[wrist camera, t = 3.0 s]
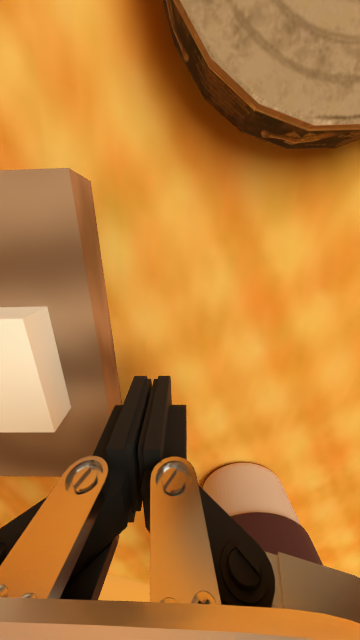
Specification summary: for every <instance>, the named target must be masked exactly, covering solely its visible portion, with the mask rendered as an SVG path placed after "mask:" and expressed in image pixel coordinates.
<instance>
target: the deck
mask: <svg viewBox="0 0 360 640" xmlns="http://www.w3.org/2000/svg"><path fill="white" fill-rule="evenodd" d="M0 307H47V308H48V312H49V317H50V321H51V325H52V329H53V333H54V338H55V342H56V346H57V350H58V355H59V359H60V363H61V367H62V371H63V376H64V380H65V384H66V388H67V392H68V397H69V401H70V405H71V409H70V410H69V412H68V413H67V415H66V416H65V418H64V419H63V421H62V422H61V424H60V425H59V427H58V428H57V430H56V431H55V432H0V476H62V475H63V474H64V472H65V471H66V470H67V469H68V468H69V466H71V465H72V464H73V463H75V462H76V461H78V460H80V459H82V458H84V457H88V456H92V455H93V453H94V451H95V449H96V446H97V444H98V442H99V440H100V437H101V435H102V433H103V431H104V428H105V426H106V424H107V422H108V419H109V417H110V415H111V413H112V410H113V408H114V406H115V405H122V402H121V395H120V388H119V381H118V374H117V367H116V360H115V352H114V345H113V338H112V331H111V324H110V317H109V310H108V303H107V295H106V288H105V281H104V274H103V267H102V260H101V253H100V246H99V239H98V231H97V224H96V217H95V210H94V203H93V196H92V189H91V182H90V181H89V180H88V179H86V178H84V177H83V176H81V175H79V174H78V173H76V172H74V171H73V170H71V169H69V168H57V169H30V170H2V171H0Z"/></svg>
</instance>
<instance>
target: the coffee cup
mask: <svg viewBox="0 0 360 640" xmlns="http://www.w3.org/2000/svg"><path fill="white" fill-rule="evenodd" d="M203 490H204V491H205V492H206V493H207V494H208V495H209V496H210V497H211V498H212V499H213V500H214V501H215V502H216V503H217V504H218V505H219V506H220V507H221V508H222V509H223V510H224V511H225V512H226V513H227V514H228V515H229V516H230V517H232V518H233V519H234V520H235V521H236V522H237V523H238V524H239V525H240V526H241V527H242V528H243V529H244V530H245V531H246V532H247V533H248V534H249V535H250V536H251V537H252V538H253V539H254V540H255V541H256V542H257V543H258V544H259V545H260V547H261V548H262V549H263V550H264V551H265V552H268V553H271V554H275V555H278V552H281V553H284V554H287V555H291V556H294V557H297V558H300V559H303V560H307V561H310V562H313V563H316V564H319V565H323V564H322V562H321V560H320V558H319V556H318V554H317V552H316V550H315V547H314V545H313V543H312V541H311V539H310V537H309V535H308V533H307V532H306V531H305V529H304V528H303V527H302V526H301V525H300V523H299V520H298V518H297V516H296V514H295V512H294V510H293V507H292V505H291V503H290V501H289V499H288V497H287V494H286V492H285V490H284V488H283V486H282V484H281V482H280V480H279V479H278V477H277V476H276V475H275V474H274V473H273V472H272V471H270V470H269V469H267V468H265V467H263V466H260V465H257V464H253V463H234V464H229V465H226V466H223V467H221V468H219V469H217V470H216V471H214V472H213V473H212V474H211V475H210V476H209V477H208V478H207V480H206V481H205V483H204V485H203Z"/></svg>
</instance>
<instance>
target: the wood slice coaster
mask: <svg viewBox="0 0 360 640" xmlns="http://www.w3.org/2000/svg"><path fill="white" fill-rule="evenodd" d="M163 3H164V7H165V10H166V14H167V18H168V22H169V26H170V30H171V33H172V37H173V41H174V45H175V47H176V49H177V50H178V52H179V54H180V56H181V57H182V59H183V61H184V63H185V64H186V66H187V68H188V70H189V72H190V73H191V75H192V77H193V79H194V80H195V82H196V84H197V86H198V87H199V89H200V91H201V93H202V95H203V96H204V98H205V99H206V100H207V101H208V102H209V103H210V104H211V105H212V106H214V107H215V108H216V109H217V110H218V111H219V112H220V113H221V114H222V115H224V116H225V117H226V118H227V119H228V120H229V121H230V122H231V123H232V124H233V125H235V126H236V127H237V128H238V129H239V130H240V131H241V132H242V133H244V134H247V135H249V136H252V137H255V138H257V139H260V140H263V141H265V142H268V143H271V144H273V145H276V146H279V147H282V148H284V149H322V148H336V147H339V146H342V145H344V144H347V143H349V142H352V141H355V140H357V139H360V0H163Z"/></svg>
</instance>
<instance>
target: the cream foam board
mask: <svg viewBox="0 0 360 640" xmlns="http://www.w3.org/2000/svg"><path fill="white" fill-rule="evenodd" d="M70 409H71V405H70V401H69V397H68V392H67V388H66V384H65V380H64V376H63V371H62V367H61V363H60V359H59V355H58V350H57V346H56V342H55V338H54V333H53V329H52V325H51V321H50V317H49V312H48V308H47V307H0V432H55V431H56V430H57V428H58V427H59V425H60V424H61V422H62V421H63V419H64V418H65V416H66V415H67V413H68V412H69V410H70Z"/></svg>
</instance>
